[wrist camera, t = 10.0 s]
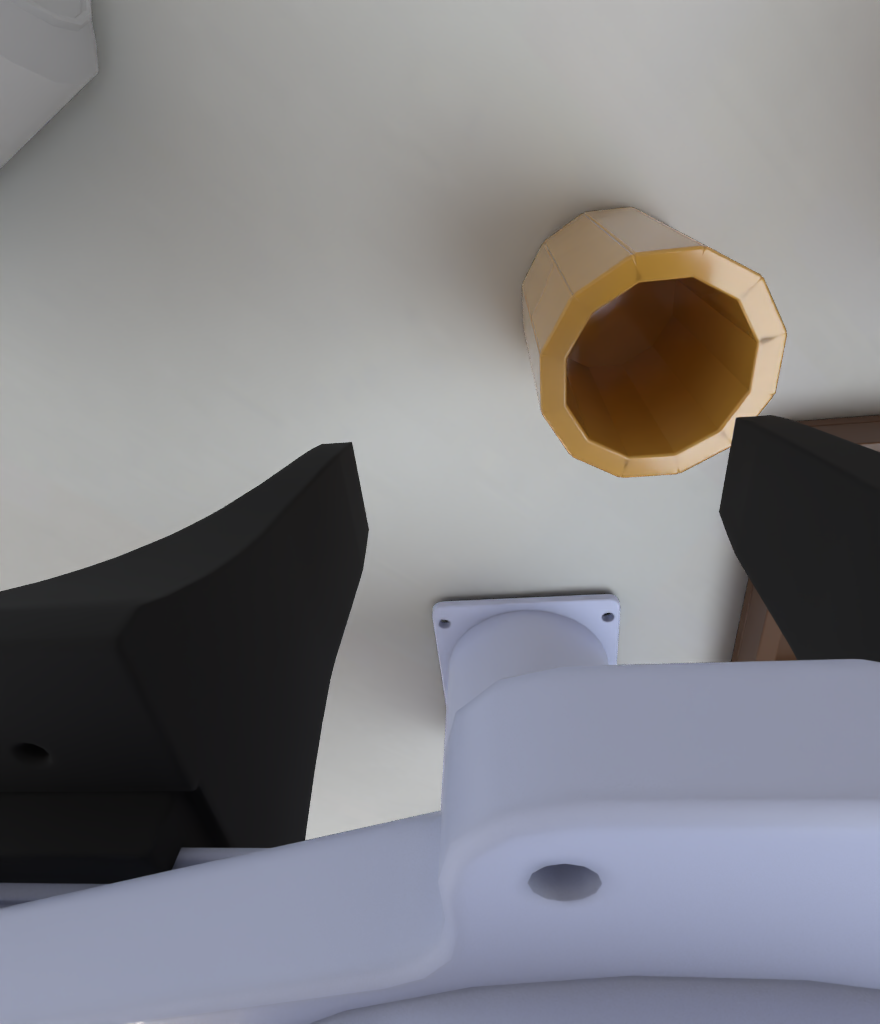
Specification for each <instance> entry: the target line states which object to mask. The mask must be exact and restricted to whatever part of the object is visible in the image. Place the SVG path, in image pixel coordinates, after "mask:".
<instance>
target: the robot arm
mask: <svg viewBox="0 0 880 1024" xmlns="http://www.w3.org/2000/svg"><path fill="white" fill-rule="evenodd" d="M719 513H720V516H721V518H722V521H723V524H724V527H725V530H726V532H727V535H728V537H729V540H730V542H731V545H732V547H733V550H734V552H735V554H736V556H737V558H738V560H739V561H740V563H741V565H742V567H743V568H744V570H745V572H746V574H747V575H748V577H749V579H750V580H751V582H752V584H753V586H754V587H755V589H756V591H757V592H758V594H759V595H760V597H761V599H762V600H763V602H764V604H765V605H766V607H767V609H768V610H769V612H770V614H771V615H772V617H773V619H774V620H775V622H776V624H777V625H778V627H779V629H780V630H781V632H782V634H783V635H784V637H785V639H786V640H787V642H788V644H789V646H790V647H791V649H792V651H793V653H794V655H795V657H796V659H797V660H789V661H749V662H710V663H670V664H630V665H617V652H618V637H619V622H620V603H619V599H618V598H617V597H616V596H614V595H612V594H595V595H573V596H551V597H529V598H507V599H485V600H463V601H442V602H438V603H436V604H435V605H434V607H433V612H432V617H433V624H434V630H435V637H436V643H437V650H438V656H439V663H440V669H441V676H442V682H443V689H444V695H445V702H446V708H447V710H446V727H445V744H444V760H443V777H442V794H441V811H436V812H432V813H427V814H423V815H418V816H413V817H409V818H404V819H400V820H395V821H391V822H386V823H382V824H377V825H373V826H368V827H364V828H359V829H355V830H350V831H346V832H341V833H337V834H332V835H328V836H323V837H319V838H314V839H310V840H305V836H306V828H307V821H308V814H309V807H310V800H311V792H312V785H313V778H314V771H315V765H316V759H317V753H318V747H319V740H320V734H321V728H322V722H323V717H324V711H325V706H326V700H327V695H328V690H329V684H330V679H331V675H332V671H333V667H334V663H335V659H336V656H337V652H338V649H339V646H340V643H341V640H342V636H343V633H344V630H345V627H346V624H347V620H348V617H349V614H350V611H351V607H352V604H353V601H354V598H355V594H356V591H357V588H358V585H359V581H360V578H361V574H362V571H363V566H364V560H365V553H366V546H367V539H368V531H369V528H368V523H367V518H366V512H365V507H364V502H363V497H362V492H361V487H360V481H359V476H358V471H357V466H356V461H355V456H354V450H353V445H352V442H348V443H333V444H321V445H319V446H317V447H315V448H313V449H311V450H310V451H308V452H307V453H305V454H304V455H302V456H301V457H299V458H298V459H296V460H295V461H293V462H292V463H291V464H289V465H288V466H286V467H285V468H283V469H282V470H280V471H279V472H278V473H276V474H275V475H273V476H272V477H270V478H269V479H267V480H266V481H265V482H263V483H262V484H260V485H259V486H257V487H255V488H254V489H252V490H251V491H249V492H247V493H246V494H244V495H243V496H241V497H240V498H238V499H236V500H235V501H233V502H232V503H230V504H228V505H227V506H225V507H224V508H222V509H220V510H218V511H217V512H215V513H213V514H211V515H210V516H208V517H206V518H204V519H202V520H200V521H198V522H196V523H194V524H192V525H190V526H188V527H186V528H184V529H182V530H180V531H178V532H176V533H174V534H172V535H170V536H167V537H165V538H163V539H160V540H158V541H155V542H153V543H150V544H148V545H146V546H143V547H141V548H138V549H136V550H133V551H131V552H129V553H126V554H124V555H121V556H119V557H116V558H113V559H110V560H107V561H104V562H102V563H99V564H96V565H93V566H90V567H87V568H84V569H81V570H77V571H74V572H71V573H68V574H64V575H61V576H58V577H55V578H51V579H47V580H44V581H40V582H37V583H33V584H29V585H25V586H21V587H17V588H13V589H9V590H5V591H0V1024H880V452H878V451H875V450H873V449H870V448H867V447H864V446H862V445H859V444H856V443H853V442H851V441H848V440H845V439H843V438H840V437H837V436H835V435H832V434H829V433H827V432H824V431H821V430H819V429H816V428H813V427H810V426H808V425H805V424H802V423H799V422H796V421H792V420H789V419H786V418H782V417H777V416H772V415H767V416H752V417H736V419H735V425H734V431H733V436H732V442H731V448H730V453H729V459H728V465H727V470H726V476H725V482H724V487H723V493H722V499H721V504H720V510H719ZM605 613H611V614H610V615H607V616H605V615H604V614H605ZM441 620H448V621H449V622H442V621H441Z"/></svg>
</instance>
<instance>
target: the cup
mask: <svg viewBox="0 0 880 1024" xmlns="http://www.w3.org/2000/svg"><path fill="white" fill-rule="evenodd" d="M522 308H523V329H524V334H525V338H526V343H527V348H528V353H529V357H530V362H531V367H532V372H533V377H534V381H535V386H536V391H537V396H538V400H539V405H540V410H541V412H542V415H543V416H544V418H545V419H546V421H547V422H548V424H549V425H550V427H551V428H552V430H553V431H554V433H555V434H556V435H557V437H558V438H559V440H560V441H561V443H562V444H563V446H564V447H565V449H566V450H567V452H568V453H569V454H570V455H571V456H572V457H574V458H576V459H578V460H580V461H583V462H585V463H587V464H590V465H592V466H594V467H596V468H599V469H601V470H603V471H606V472H608V473H610V474H612V475H615V476H617V477H623V478H626V477H641V476H657V475H672V474H678V473H682V472H684V471H686V470H687V469H689V468H691V467H693V466H695V465H697V464H699V463H701V462H703V461H705V460H707V459H708V458H710V457H712V456H714V455H716V454H718V453H720V452H722V451H724V450H726V449H728V448H729V447H731V442H732V436H733V431H734V425H735V419H736V417H752V416H758V415H759V414H760V412H761V411H762V410H763V409H764V407H765V406H766V405H767V404H768V402H769V401H770V400H771V399H772V397H773V395H774V394H775V393H776V388H777V383H778V378H779V373H780V367H781V362H782V357H783V352H784V347H785V342H786V337H787V333H786V328H785V326H784V323H783V321H782V319H781V316H780V314H779V312H778V310H777V307H776V305H775V303H774V300H773V298H772V296H771V293H770V291H769V289H768V287H767V284H766V282H765V280H764V278H763V277H762V276H761V274H759V273H757V272H755V271H753V270H751V269H749V268H747V267H746V266H744V265H742V264H740V263H738V262H736V261H734V260H732V259H730V258H729V257H727V256H725V255H723V254H721V253H719V252H717V251H715V250H713V249H712V248H710V247H708V246H706V245H704V244H702V243H700V242H698V241H696V240H695V239H693V238H691V237H689V236H687V235H685V234H683V233H681V232H679V231H677V230H676V229H674V228H672V227H670V226H668V225H666V224H664V223H662V222H660V221H659V220H657V219H655V218H653V217H651V216H649V215H647V214H645V213H643V212H641V211H640V210H638V209H636V208H634V207H632V208H631V207H624V208H615V209H606V210H597V211H588V212H585V213H582V214H580V215H579V216H578V217H576V218H575V219H574V220H572V221H571V222H569V223H568V224H567V225H565V226H564V227H563V228H561V229H560V230H559V231H557V232H556V233H554V234H553V235H552V236H550V237H549V238H548V239H546V240H545V241H544V243H543V244H542V245H541V247H540V249H539V251H538V253H537V255H536V257H535V259H534V261H533V263H532V265H531V267H530V269H529V271H528V273H527V276H526V278H525V280H524V282H523V285H522Z"/></svg>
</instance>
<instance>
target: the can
mask: <svg viewBox="0 0 880 1024" xmlns="http://www.w3.org/2000/svg"><path fill="white" fill-rule="evenodd" d="M97 73H98V54H97V44H96V39H95V34H94V29H93V24H92V3H91V0H0V168H1V167H2V166H3V165H4V164H5V163H6V162H7V161H8V160H10V159H11V158H12V157H13V156H14V155H15V154H16V153H17V152H18V151H19V150H20V149H21V148H22V147H23V146H24V145H25V144H26V143H27V142H28V141H29V140H30V139H31V138H32V137H33V136H34V135H35V134H36V133H37V132H38V131H39V130H40V129H41V128H42V127H43V126H44V125H45V124H46V123H47V122H48V121H50V120H51V119H52V118H53V117H54V116H55V115H56V114H57V113H58V112H59V111H60V110H61V109H62V108H63V107H64V106H65V105H66V104H67V103H68V102H69V101H70V100H71V99H72V98H73V97H74V96H75V95H76V94H77V93H78V92H79V91H80V90H81V89H82V88H83V87H84V86H85V85H86V84H87V83H88V82H89V81H90V80H91V79H92V78H93V77H94V76H95V75H96V74H97Z"/></svg>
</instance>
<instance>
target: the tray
mask: <svg viewBox="0 0 880 1024" xmlns="http://www.w3.org/2000/svg"><path fill="white" fill-rule="evenodd" d="M796 422H799V423H802V424H805V425H808V426H810V427H813V428H816V429H819V430H821V431H824V432H827V433H829V434H832V435H835V436H837V437H840V438H843V439H845V440H848V441H851V442H853V443H856V444H859V445H862V446H864V447H867V448H870V449H873V450H875V451H878V452H880V415H877V416H863V417H849V418H836V419H822V420H808V421H796ZM789 660H797V659H796V657H795V655H794V653H793V651H792V649H791V647H790V646H789V644H788V642H787V640H786V639H785V637H784V635H783V634H782V632H781V630H780V629H779V627H778V625H777V624H776V622H775V620H774V619H773V617H772V615H771V614H770V612H769V610H768V609H767V607H766V605H765V604H764V602H763V600H762V599H761V597H760V595H759V594H758V592H757V591H756V589H755V587H754V586H753V584H752V582H751V580H750V579H748V584H747V589H746V593H745V598H744V603H743V608H742V613H741V617H740V622H739V627H738V632H737V636H736V641H735V646H734V651H733V656H732V660H731V662H749V661H789Z"/></svg>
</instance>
